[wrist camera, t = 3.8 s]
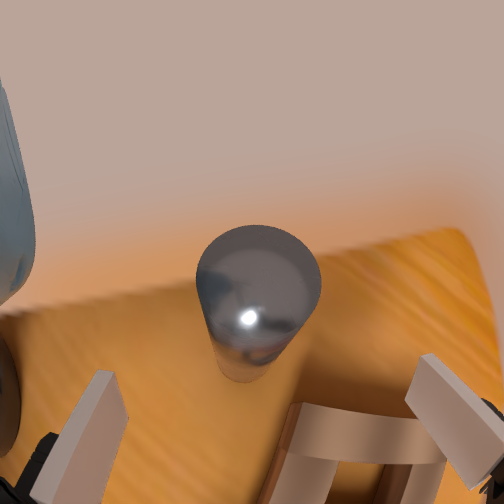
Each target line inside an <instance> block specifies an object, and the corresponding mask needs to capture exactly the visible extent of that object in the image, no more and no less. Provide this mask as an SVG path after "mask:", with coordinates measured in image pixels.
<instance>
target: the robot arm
mask: <svg viewBox="0 0 504 504" xmlns="http://www.w3.org/2000/svg"><path fill="white" fill-rule="evenodd" d="M35 242H36V241H35V225H34V217H33V211H32V205H31V199H30V194H29V189H28V184H27V179H26V175H25V170H24V165H23V161H22V157H21V152H20V148H19V144H18V139H17V135H16V131H15V127H14V123H13V119H12V115H11V111H10V107H9V103H8V99H7V96H6V92H5V90H4V88H3V87H2V85H1V80H0V305H1V304H3V303H4V302H5V301H6V300H8V299H9V298H10V297H11V296H12V295H14V294H15V293H16V292H17V291H18V290H19V289H20V288H21V287H22V286H23V285H24V283H25V282H26V280H27V278H28V276H29V274H30V272H31V269H32V266H33V262H34V256H35ZM404 401H405V402H406V403H407V405H408V406H409V407H410V409H411V410H412V411H413V413H414V414H415V415H416V417H417V418H418V419H419V421H420V422H421V423H422V425H423V426H424V427H425V429H426V430H427V432H428V433H429V434H430V436H431V437H432V438H433V440H434V441H435V443H436V444H437V445H438V447H439V448H440V449H441V451H442V452H443V454H444V455H445V457H446V458H447V459H448V461H449V462H450V464H451V465H452V466H453V468H454V469H455V471H456V472H457V474H458V475H459V476H460V478H461V479H462V481H463V482H464V484H465V485H466V487H467V488H468V490H469V491H470V490H472V489H474V488H475V487H476V486H478V485H479V484H481V483H482V482H483V481H484V480H485V479H486V478H487V477H488V476H489V474H490V475H491V476H492V477H491V478H490V479H489V480H488V481H487V483H486V484H485V485H484V486H483V487H482V488H481V489H480V492H479V494H481V493H482V492H483V491H484V490H485V489H486V488H487V487H488V489H487V490H486V491H485V492H484V494H487V501H486V504H504V416H503V414H502V413H501V412H500V411H498V409H497V408H496V407H495V406H494V405H493V404H492V403H491V402H489V401H487V400H485V399H483V398H481V399H480V398H479V397H478V396H477V395H476V394H475V393H474V392H473V391H472V390H471V389H470V388H469V387H468V386H467V385H466V384H465V383H464V382H463V381H462V380H461V379H460V378H459V377H457V376H456V375H455V374H454V373H453V372H452V371H451V370H450V369H449V368H448V367H447V366H446V365H445V364H444V363H443V362H442V361H440V360H439V359H438V358H437V357H436V356H435V355H434V354H433V353H430V354H426V355H421V356H420V358H419V362H418V365H417V367H416V370H415V373H414V376H413V379H412V382H411V384H410V387H409V390H408V392H407V395H406V397H405V400H404ZM19 418H20V395H19V386H18V379H17V374H16V370H15V366H14V363H13V360H12V357H11V354H10V352H9V349H8V347H7V345H6V343H5V342H4V340H3V339H2V337H1V336H0V458H1V457H3V456H4V455H6V454H7V453H8V452H9V450H10V449H11V447H12V445H13V443H14V441H15V438H16V435H17V431H18V426H19ZM128 420H129V417H128V414H127V411H126V408H125V405H124V402H123V399H122V396H121V393H120V390H119V387H118V383H117V380H116V377H115V373H114V372H112V371H104V370H97V372H96V373H95V375H94V377H93V378H92V380H91V382H90V383H89V385H88V386H87V388H86V390H85V391H84V393H83V395H82V396H81V398H80V400H79V402H78V403H77V405H76V407H75V408H74V410H73V412H72V414H71V415H70V417H69V419H68V421H67V422H66V424H65V426H64V428H63V429H62V431H61V433H60V435H58V434H55V433H52V432H50V433H48V434H47V435H46V436H45V437H43V438H42V439H41V440H40V442H39V443H38V445H37V447H36V449H35V452H33V454H32V456H31V459H29V461H28V463H27V465H26V467H25V469H24V470H23V472H22V474H21V476H20V478H19V480H18V482H17V484H16V486H15V487H14V488H13V487H12V486H11V485H10V484H9V483H8V482H7V481H6V480H5V479H4V478H3V477H1V476H0V504H101V501H102V498H103V495H104V491H105V488H106V485H107V482H108V478H109V475H110V472H111V469H112V466H113V463H114V460H115V457H116V454H117V451H118V448H119V445H120V442H121V439H122V436H123V434H124V431H125V428H126V425H127V422H128Z"/></svg>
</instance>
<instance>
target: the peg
mask: <svg viewBox="0 0 504 504" xmlns="http://www.w3.org/2000/svg"><path fill="white" fill-rule="evenodd" d="M196 287H197V291H198V295H199V299H200V303H201V307H202V310H203V314H204V317H205V321H206V325H207V328H208V332H209V335H210V338H211V342H212V345H213V349H214V352H215V355H216V358H217V362H218V365H219V367H220V370H221V371H222V373H223V374H224V375H225V376H226V377H228V378H229V379H231V380H233V381H235V382H239V383H248V382H252V381H255V380H257V379H259V378H260V377H261V376H262V375H263V374H264V373H265V372H266V371H267V369H268V368H269V367H270V366H271V365H272V363H273V362H274V361H275V360H276V359H277V357H278V356H279V355H280V354H281V352H282V351H283V350H284V349H285V347H286V346H287V345H288V344H289V342H290V341H291V340H292V339H293V337H294V336H295V335H296V333H297V332H298V331H299V330H300V328H301V327H302V326H303V324H304V323H305V322H306V320H307V319H308V318H309V316H310V315H311V314H312V312H313V311H314V309H315V307H316V305H317V303H318V300H319V297H320V293H321V275H320V270H319V267H318V264H317V262H316V260H315V258H314V256H313V255H312V253H311V252H310V250H309V249H308V248H307V247H306V246H305V245H304V244H303V243H302V242H301V241H300V240H299V239H297V238H296V237H295V236H293V235H291V234H290V233H288V232H285V231H283V230H281V229H278V228H275V227H270V226H264V225H248V226H242V227H238V228H235V229H232V230H230V231H227V232H225V233H224V234H222V235H220V236H219V237H217V238H216V239H215V240H214V241H213V242H212V243H211V244H210V245H209V246H208V247H207V248H206V250H205V251H204V253H203V255H202V256H201V258H200V261H199V264H198V267H197V272H196Z"/></svg>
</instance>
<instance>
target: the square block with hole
mask: <svg viewBox="0 0 504 504" xmlns="http://www.w3.org/2000/svg"><path fill="white" fill-rule="evenodd" d="M339 461H347V462H358V463H373V464H385V468H384V471H383V474H382V477H381V480H380V483H379V486H378V489H377V492H376V495H375V498H374V500H373V503H372V504H433V503H434V500H435V498H436V495H437V492H438V489H439V486H440V483H441V479H442V476H443V473H444V469H445V465H446V462H447V458H446V457H445V455H444V454H443V452H442V451H441V449H440V448H439V447H438V445H437V444H436V443H435V441H434V440H433V438H432V437H431V436H430V434H429V433H428V432H427V430H426V429H425V427H424V426H423V425H422V423H421V422H420V421H419V419H409V418H398V417H389V416H380V415H373V414H365V413H359V412H352V411H346V410H341V409H335V408H330V407H325V406H320V405H315V404H311V403H306V402H299V403H292V404H291V405H290V408H289V412H288V415H287V418H286V421H285V424H284V428H283V431H282V434H281V437H280V440H279V443H278V446H277V449H276V452H275V455H274V458H273V461H272V463H271V466H270V469H269V472H268V475H267V477H266V480H265V483H264V485H263V488H262V491H261V493H260V496H259V498H258V501H257V503H256V504H324V503H325V501H326V498H327V495H328V493H329V490H330V487H331V485H332V482H333V479H334V476H335V473H336V470H337V467H338V464H339Z"/></svg>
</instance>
